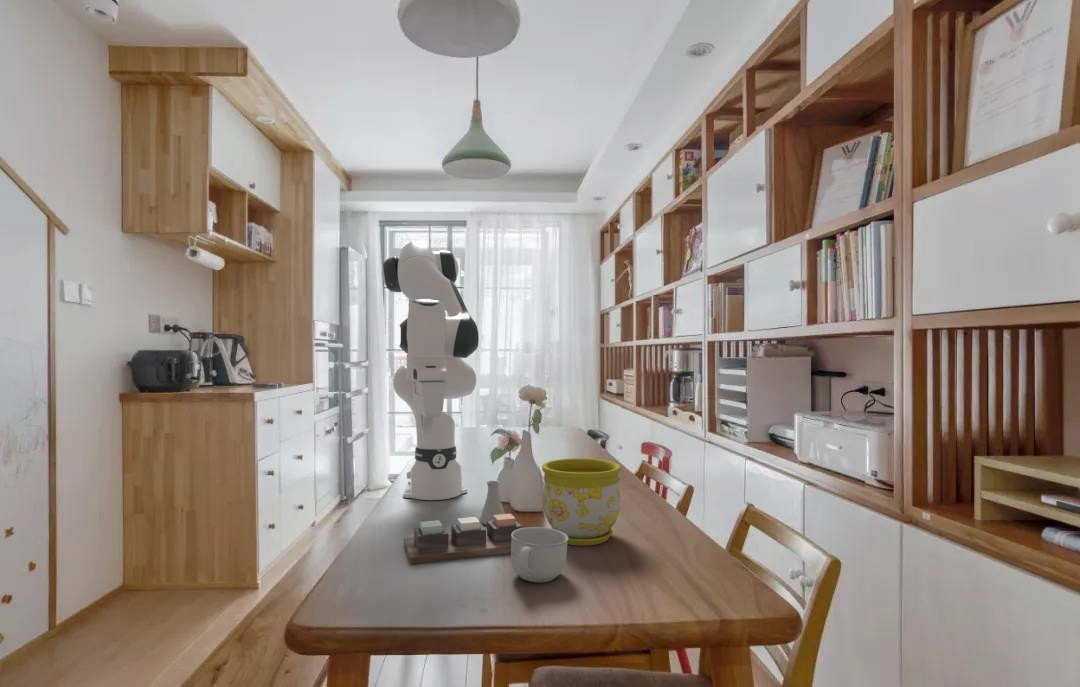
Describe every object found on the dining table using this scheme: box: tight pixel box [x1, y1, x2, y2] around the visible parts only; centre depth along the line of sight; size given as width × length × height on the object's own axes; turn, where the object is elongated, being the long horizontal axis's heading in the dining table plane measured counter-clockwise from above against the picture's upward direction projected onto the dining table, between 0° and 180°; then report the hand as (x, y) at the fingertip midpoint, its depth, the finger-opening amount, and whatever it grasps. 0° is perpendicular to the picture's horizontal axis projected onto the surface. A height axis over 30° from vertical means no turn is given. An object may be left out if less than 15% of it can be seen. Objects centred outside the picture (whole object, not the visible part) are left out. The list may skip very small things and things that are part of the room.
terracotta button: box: [493, 513, 517, 527], centre depth 129 cm, size 4×4×2 cm
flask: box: [478, 480, 506, 526], centre depth 146 cm, size 7×7×10 cm
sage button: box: [419, 520, 443, 535], centre depth 123 cm, size 4×4×2 cm
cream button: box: [456, 516, 480, 531], centre depth 126 cm, size 4×4×2 cm
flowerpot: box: [541, 457, 622, 547], centre depth 134 cm, size 18×18×16 cm
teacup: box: [510, 526, 568, 583], centre depth 109 cm, size 14×11×8 cm
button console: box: [403, 520, 523, 566], centre depth 126 cm, size 12×26×4 cm, turn 109°
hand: (426, 433), depth 130 cm, fingers closed
